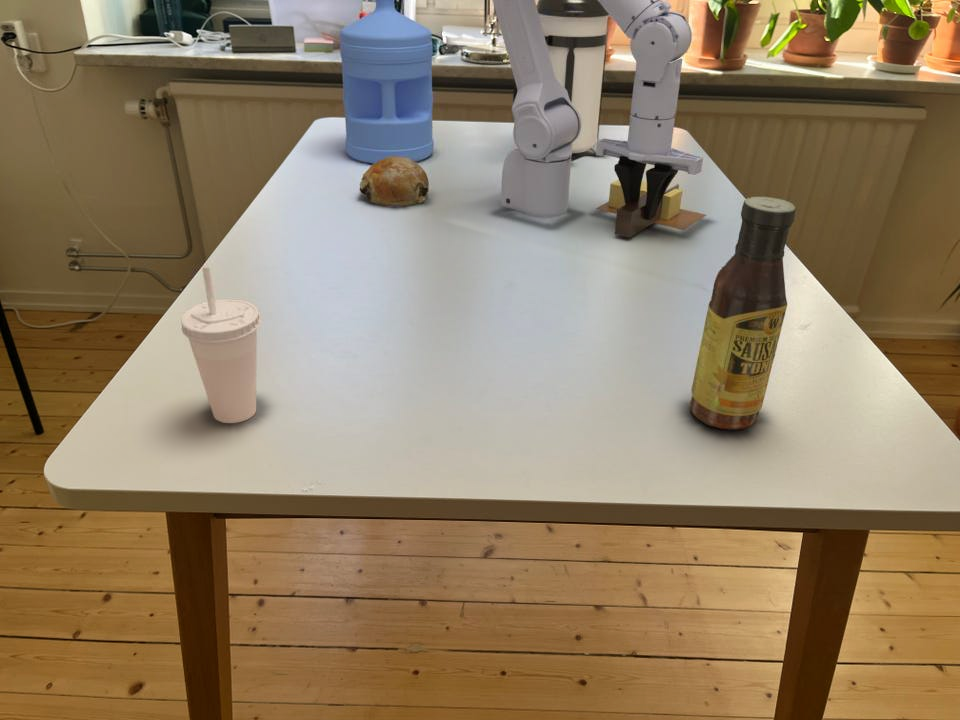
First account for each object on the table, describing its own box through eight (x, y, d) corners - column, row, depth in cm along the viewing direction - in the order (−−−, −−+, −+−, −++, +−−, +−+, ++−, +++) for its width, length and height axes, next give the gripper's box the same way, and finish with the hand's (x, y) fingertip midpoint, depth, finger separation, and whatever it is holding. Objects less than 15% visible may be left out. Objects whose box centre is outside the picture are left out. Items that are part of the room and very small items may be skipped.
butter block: (608, 206, 121) (610, 183, 120) (620, 199, 124) (623, 177, 122) (650, 216, 118) (653, 193, 116) (663, 209, 121) (666, 186, 119)
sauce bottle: (720, 441, 71) (764, 222, 61) (673, 406, 75) (707, 197, 66) (776, 422, 73) (826, 210, 64) (727, 389, 78) (767, 187, 68)
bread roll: (406, 232, 123) (428, 187, 119) (346, 198, 122) (365, 152, 118) (423, 211, 131) (444, 168, 127) (367, 179, 131) (386, 135, 127)
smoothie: (205, 393, 76) (181, 252, 69) (276, 391, 76) (259, 251, 69) (190, 433, 70) (162, 283, 63) (266, 430, 71) (246, 282, 64)
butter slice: (659, 218, 117) (663, 195, 115) (671, 211, 120) (675, 188, 118) (667, 220, 116) (670, 196, 115) (679, 213, 119) (682, 190, 118)
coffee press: (519, 141, 157) (527, -32, 142) (603, 145, 155) (620, -29, 140) (510, 166, 142) (517, -24, 127) (602, 171, 140) (621, -21, 125)
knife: (614, 234, 110) (616, 208, 108) (668, 202, 122) (671, 179, 120) (628, 237, 109) (631, 212, 107) (682, 205, 121) (685, 182, 119)
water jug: (347, 142, 153) (337, -22, 140) (431, 142, 155) (429, -21, 141) (344, 166, 140) (333, -13, 126) (436, 165, 141) (435, -12, 128)
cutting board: (594, 214, 121) (595, 208, 120) (620, 201, 127) (621, 195, 126) (682, 236, 114) (683, 229, 113) (705, 221, 119) (706, 214, 119)
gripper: (588, 111, 106) (580, 211, 113) (692, 129, 99) (677, 235, 106) (614, 102, 111) (604, 199, 118) (715, 119, 104) (699, 221, 111)
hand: (640, 215), depth 112 cm, fingers closed on knife, 2 cm apart
